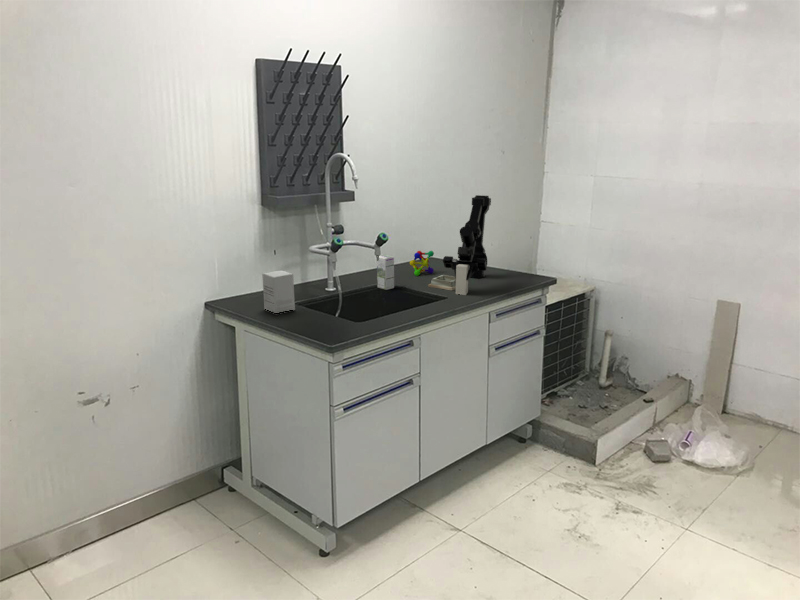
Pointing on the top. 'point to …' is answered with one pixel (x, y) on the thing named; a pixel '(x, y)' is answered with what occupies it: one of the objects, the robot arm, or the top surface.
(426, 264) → the molecular model
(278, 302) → the supplement box
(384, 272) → the syrup box
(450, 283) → the jig
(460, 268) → the fuselage block
